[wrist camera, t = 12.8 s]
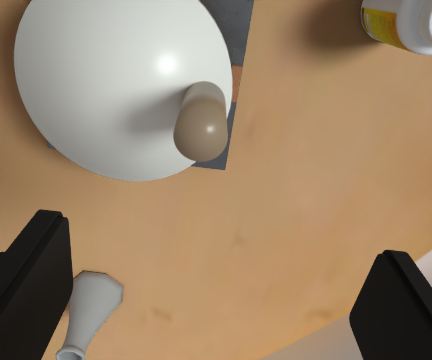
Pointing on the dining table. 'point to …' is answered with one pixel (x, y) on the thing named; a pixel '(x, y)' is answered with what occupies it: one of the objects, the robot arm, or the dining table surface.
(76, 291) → the flask
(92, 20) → the white piece
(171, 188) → the dining table surface
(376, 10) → the supplement bottle
